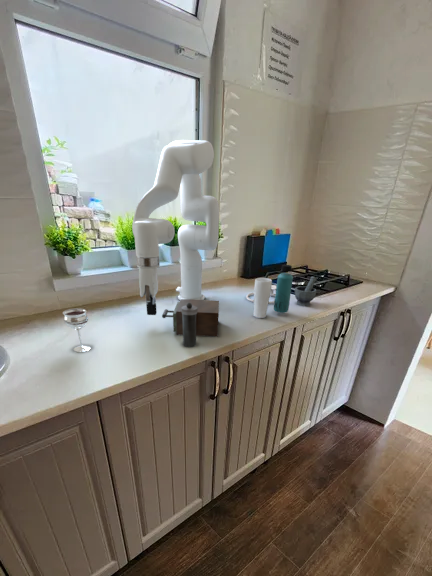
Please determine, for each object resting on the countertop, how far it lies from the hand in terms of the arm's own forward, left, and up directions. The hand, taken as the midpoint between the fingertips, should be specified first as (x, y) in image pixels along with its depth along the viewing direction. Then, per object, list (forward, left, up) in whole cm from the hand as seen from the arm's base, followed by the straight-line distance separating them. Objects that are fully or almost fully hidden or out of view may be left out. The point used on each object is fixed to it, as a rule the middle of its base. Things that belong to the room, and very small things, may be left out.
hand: (151, 314), depth 118 cm
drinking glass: (+25, +37, -5) cm, 45 cm away
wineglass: (-3, -28, -5) cm, 29 cm away
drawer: (+11, +8, -4) cm, 14 cm away
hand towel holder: (+14, +62, -5) cm, 64 cm away
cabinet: (+14, +10, -5) cm, 18 cm away
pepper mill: (+21, -3, -5) cm, 22 cm away
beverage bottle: (+30, +46, -5) cm, 55 cm away
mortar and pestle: (+32, +67, -5) cm, 74 cm away
